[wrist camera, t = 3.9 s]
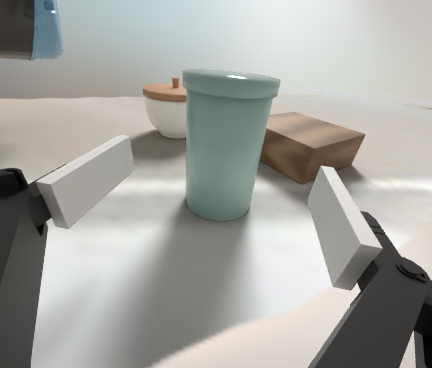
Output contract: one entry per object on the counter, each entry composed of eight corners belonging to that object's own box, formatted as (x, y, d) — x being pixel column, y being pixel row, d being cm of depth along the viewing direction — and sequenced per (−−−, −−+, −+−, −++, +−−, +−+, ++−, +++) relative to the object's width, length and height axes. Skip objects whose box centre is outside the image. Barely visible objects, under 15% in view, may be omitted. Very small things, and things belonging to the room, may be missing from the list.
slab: (238, 147, 36) (242, 118, 33) (287, 137, 43) (294, 112, 40) (301, 184, 27) (314, 148, 25) (351, 164, 34) (365, 134, 31)
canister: (171, 191, 24) (166, 68, 17) (225, 175, 28) (238, 70, 21) (207, 234, 19) (219, 82, 12) (267, 208, 22) (301, 82, 16)
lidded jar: (203, 145, 35) (207, 85, 30) (139, 141, 35) (131, 78, 30) (205, 126, 45) (208, 77, 40) (154, 122, 44) (151, 72, 39)
